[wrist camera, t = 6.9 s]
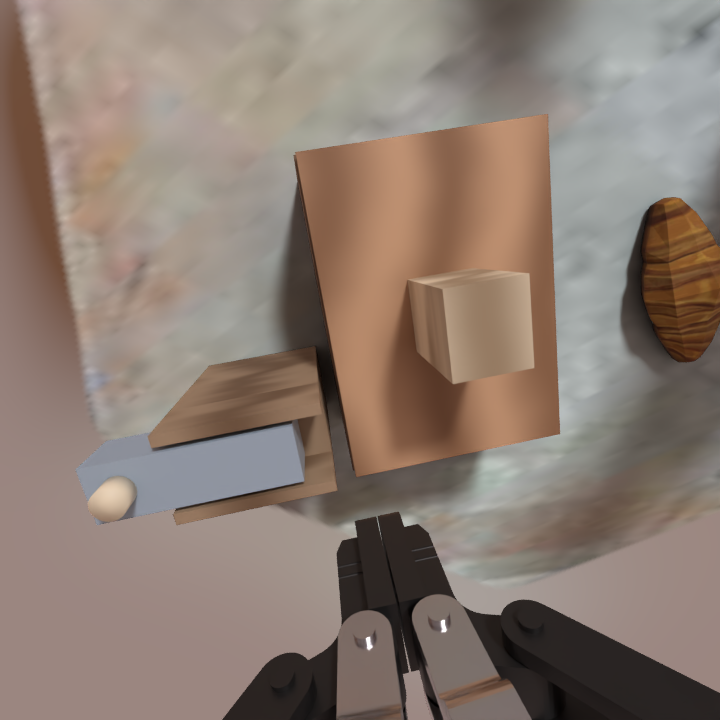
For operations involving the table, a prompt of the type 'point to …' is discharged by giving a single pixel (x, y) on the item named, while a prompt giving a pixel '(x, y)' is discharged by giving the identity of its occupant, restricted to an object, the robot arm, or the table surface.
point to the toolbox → (259, 415)
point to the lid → (438, 288)
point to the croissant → (680, 278)
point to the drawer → (189, 470)
